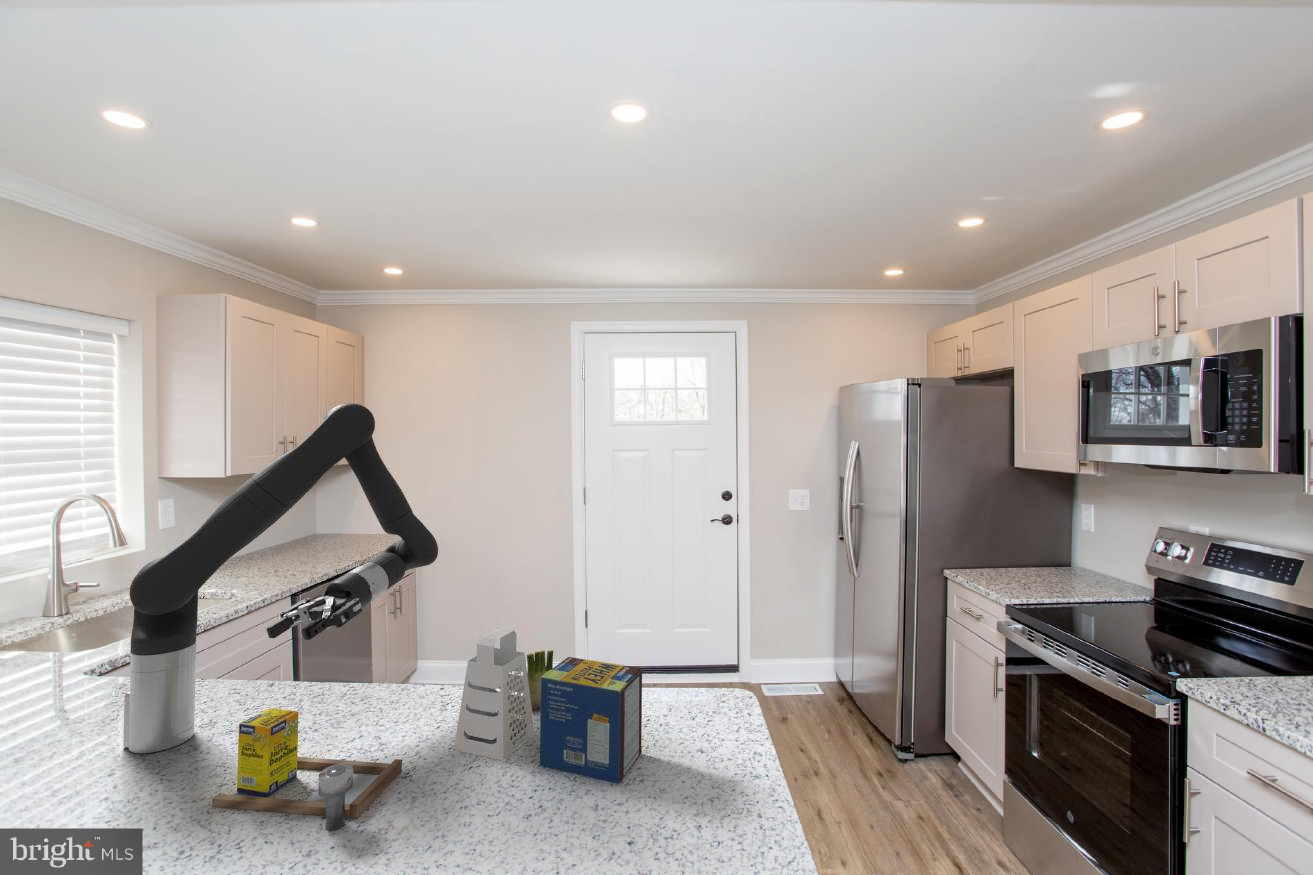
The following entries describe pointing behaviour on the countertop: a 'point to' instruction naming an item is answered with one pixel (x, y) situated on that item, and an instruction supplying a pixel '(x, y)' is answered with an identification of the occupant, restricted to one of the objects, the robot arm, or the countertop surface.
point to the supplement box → (267, 751)
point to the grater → (495, 698)
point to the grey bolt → (335, 793)
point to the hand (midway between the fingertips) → (286, 634)
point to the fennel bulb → (537, 674)
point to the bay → (355, 799)
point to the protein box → (591, 718)
